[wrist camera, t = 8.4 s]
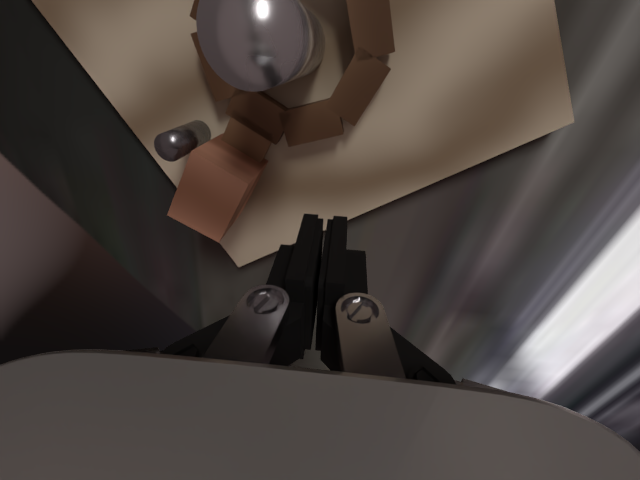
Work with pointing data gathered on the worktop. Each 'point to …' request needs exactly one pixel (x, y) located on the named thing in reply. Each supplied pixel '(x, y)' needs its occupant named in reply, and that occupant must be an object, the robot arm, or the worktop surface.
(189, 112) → the board
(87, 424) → the robot arm
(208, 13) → the grey cylinder
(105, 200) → the worktop surface
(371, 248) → the worktop surface
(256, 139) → the ring with handle
